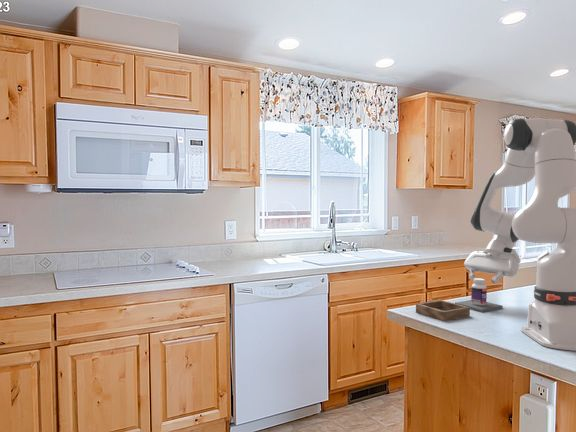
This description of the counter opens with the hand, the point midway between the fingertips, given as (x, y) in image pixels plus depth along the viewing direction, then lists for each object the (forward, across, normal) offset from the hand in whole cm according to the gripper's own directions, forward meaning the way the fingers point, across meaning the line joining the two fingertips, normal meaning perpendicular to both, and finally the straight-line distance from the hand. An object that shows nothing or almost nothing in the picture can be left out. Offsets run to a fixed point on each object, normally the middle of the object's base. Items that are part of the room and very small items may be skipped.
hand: (482, 280), depth 168 cm
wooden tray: (+23, -1, -9) cm, 25 cm away
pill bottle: (+8, 0, +5) cm, 10 cm away
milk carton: (-27, +1, +41) cm, 49 cm away
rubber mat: (+9, 0, +6) cm, 10 cm away
